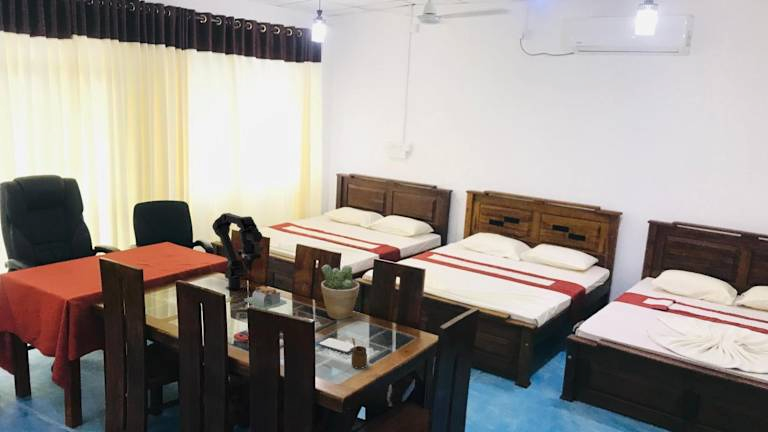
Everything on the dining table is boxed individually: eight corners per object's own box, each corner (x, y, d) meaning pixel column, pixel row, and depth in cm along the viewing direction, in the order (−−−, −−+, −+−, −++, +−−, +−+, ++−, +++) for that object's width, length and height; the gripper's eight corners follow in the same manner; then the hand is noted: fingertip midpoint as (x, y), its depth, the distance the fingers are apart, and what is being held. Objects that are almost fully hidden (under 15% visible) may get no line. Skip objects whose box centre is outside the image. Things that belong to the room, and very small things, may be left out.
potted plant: (346, 306, 287) (348, 258, 282) (366, 318, 272) (368, 267, 267) (314, 312, 277) (314, 262, 272) (332, 324, 262) (333, 272, 257)
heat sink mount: (244, 301, 289) (244, 286, 287) (264, 295, 299) (264, 281, 297) (265, 309, 278) (265, 294, 277) (286, 303, 288) (286, 289, 286)
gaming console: (276, 319, 261) (290, 324, 255) (276, 325, 261) (290, 329, 255) (231, 333, 243) (245, 338, 237) (231, 339, 244) (245, 344, 237)
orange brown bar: (257, 290, 289) (257, 287, 289) (261, 289, 291) (261, 286, 291) (272, 294, 282) (272, 290, 281) (276, 293, 284) (276, 289, 283)
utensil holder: (369, 366, 220) (370, 337, 218) (356, 370, 216) (357, 340, 214) (361, 361, 225) (362, 332, 223) (347, 364, 221) (348, 335, 219)
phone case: (316, 347, 238) (347, 356, 229) (316, 343, 238) (347, 352, 229) (329, 340, 245) (360, 349, 237) (329, 337, 245) (360, 345, 237)
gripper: (269, 240, 292) (272, 270, 294) (254, 237, 307) (256, 265, 309) (249, 243, 285) (252, 274, 287) (234, 240, 300) (237, 269, 302)
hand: (250, 270), depth 297 cm, fingers closed
